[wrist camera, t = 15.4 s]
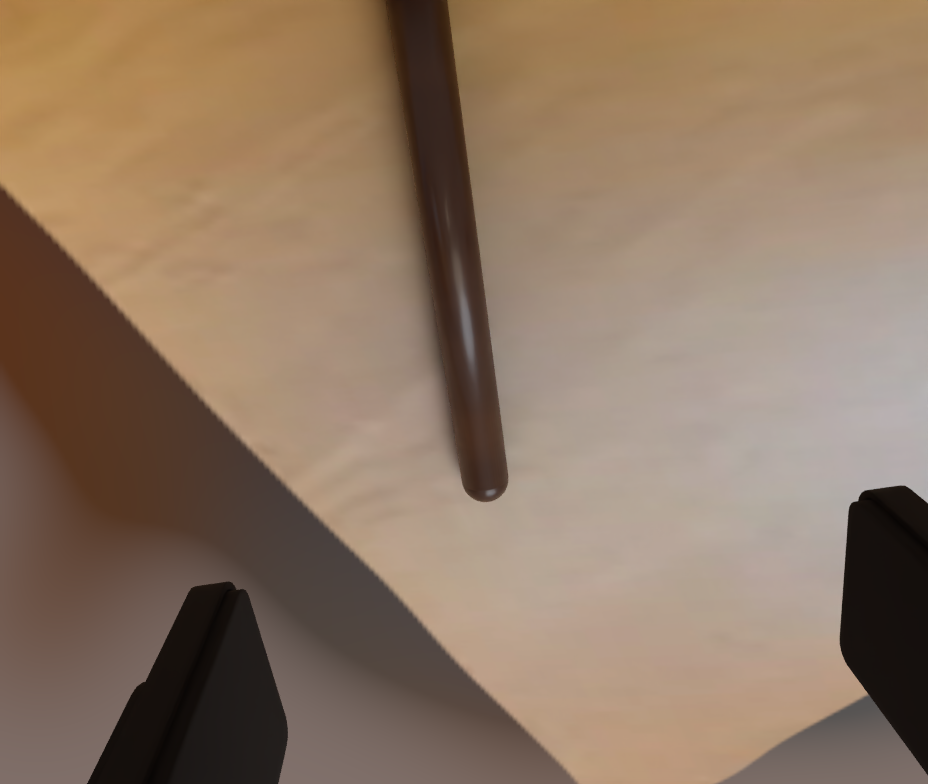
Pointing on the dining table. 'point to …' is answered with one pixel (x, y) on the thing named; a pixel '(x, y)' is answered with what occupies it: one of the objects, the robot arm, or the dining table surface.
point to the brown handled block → (450, 237)
